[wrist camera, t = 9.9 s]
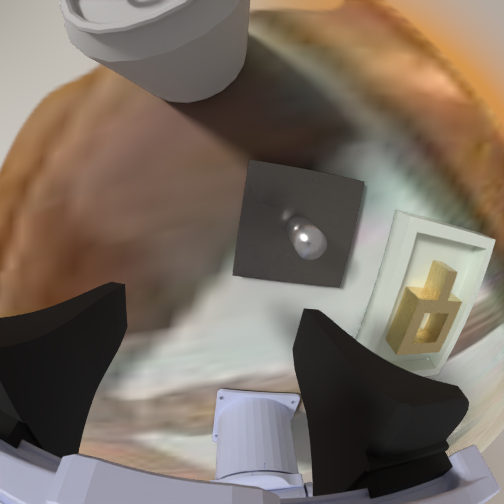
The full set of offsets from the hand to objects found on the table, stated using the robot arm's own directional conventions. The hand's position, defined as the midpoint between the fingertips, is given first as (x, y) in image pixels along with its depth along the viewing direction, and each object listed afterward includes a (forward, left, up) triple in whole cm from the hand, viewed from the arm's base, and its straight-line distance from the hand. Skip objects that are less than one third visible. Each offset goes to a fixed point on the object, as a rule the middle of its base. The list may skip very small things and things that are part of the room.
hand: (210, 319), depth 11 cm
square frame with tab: (-3, -18, -9) cm, 20 cm away
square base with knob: (+2, -5, -10) cm, 11 cm away
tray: (-3, -18, -10) cm, 21 cm away
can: (+13, +4, -10) cm, 17 cm away
